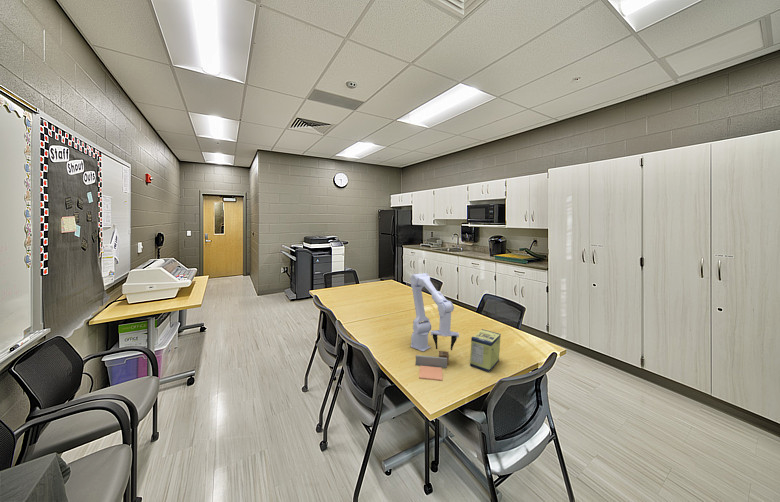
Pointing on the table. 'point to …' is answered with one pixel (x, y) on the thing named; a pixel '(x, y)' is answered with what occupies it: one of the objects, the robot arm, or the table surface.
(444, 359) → the slate screen
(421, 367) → the terracotta tile
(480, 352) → the protein box
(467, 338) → the table surface
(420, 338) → the robot arm
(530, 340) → the table surface
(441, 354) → the walnut cube
